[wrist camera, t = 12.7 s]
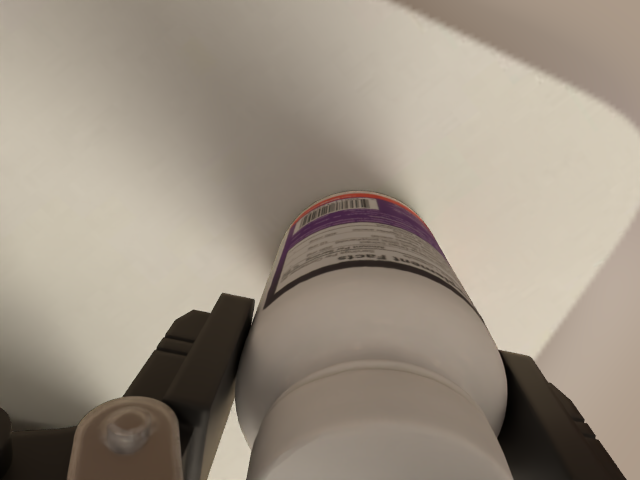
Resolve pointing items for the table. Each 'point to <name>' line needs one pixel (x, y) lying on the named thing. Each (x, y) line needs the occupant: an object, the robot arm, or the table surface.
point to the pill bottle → (368, 355)
